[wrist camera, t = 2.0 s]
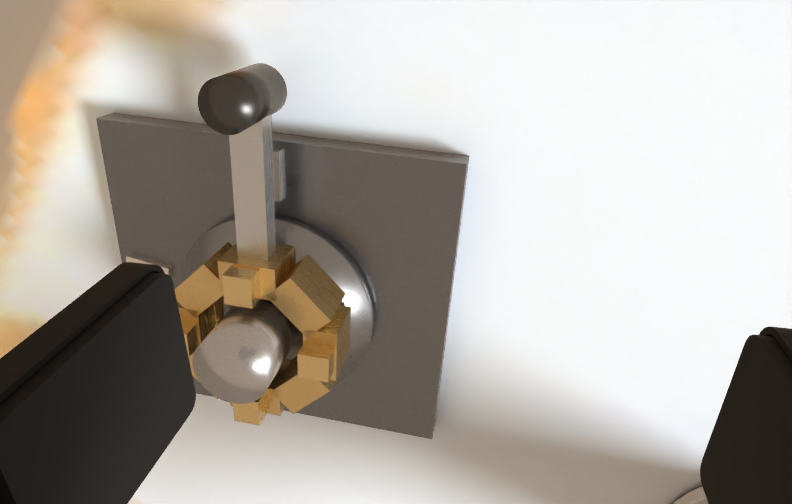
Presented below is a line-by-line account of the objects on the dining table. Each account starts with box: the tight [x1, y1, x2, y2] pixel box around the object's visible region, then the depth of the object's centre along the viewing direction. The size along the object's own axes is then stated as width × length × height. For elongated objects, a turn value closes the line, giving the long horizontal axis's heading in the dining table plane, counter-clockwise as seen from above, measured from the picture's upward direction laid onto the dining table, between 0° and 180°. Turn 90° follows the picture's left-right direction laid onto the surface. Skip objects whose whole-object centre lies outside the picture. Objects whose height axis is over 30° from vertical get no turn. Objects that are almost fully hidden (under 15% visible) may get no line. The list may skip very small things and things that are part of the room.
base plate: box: [97, 113, 469, 439], centre depth 34 cm, size 20×22×8 cm
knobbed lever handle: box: [175, 63, 351, 425], centre depth 32 cm, size 20×10×4 cm, turn 177°
